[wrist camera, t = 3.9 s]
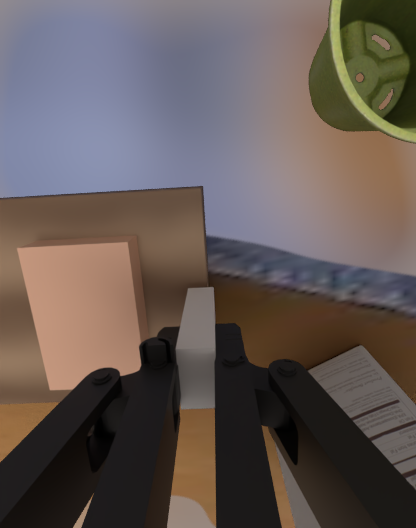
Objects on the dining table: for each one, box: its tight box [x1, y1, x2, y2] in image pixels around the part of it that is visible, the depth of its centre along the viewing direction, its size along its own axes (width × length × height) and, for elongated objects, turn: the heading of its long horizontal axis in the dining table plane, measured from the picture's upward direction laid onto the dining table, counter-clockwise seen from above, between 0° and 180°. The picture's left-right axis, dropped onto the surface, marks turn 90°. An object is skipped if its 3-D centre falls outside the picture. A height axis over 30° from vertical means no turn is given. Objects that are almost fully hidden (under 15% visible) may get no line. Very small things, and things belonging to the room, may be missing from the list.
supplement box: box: [274, 345, 416, 528], centre depth 18 cm, size 10×9×17 cm
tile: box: [17, 235, 149, 390], centre depth 19 cm, size 9×6×2 cm, turn 3°
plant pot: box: [309, 0, 416, 143], centre depth 15 cm, size 9×9×9 cm
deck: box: [0, 186, 209, 404], centre depth 21 cm, size 14×18×4 cm
